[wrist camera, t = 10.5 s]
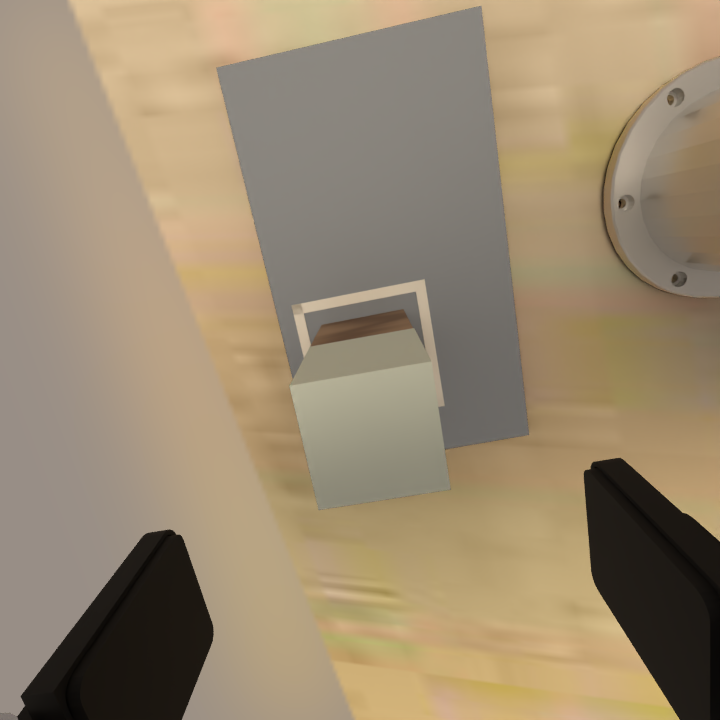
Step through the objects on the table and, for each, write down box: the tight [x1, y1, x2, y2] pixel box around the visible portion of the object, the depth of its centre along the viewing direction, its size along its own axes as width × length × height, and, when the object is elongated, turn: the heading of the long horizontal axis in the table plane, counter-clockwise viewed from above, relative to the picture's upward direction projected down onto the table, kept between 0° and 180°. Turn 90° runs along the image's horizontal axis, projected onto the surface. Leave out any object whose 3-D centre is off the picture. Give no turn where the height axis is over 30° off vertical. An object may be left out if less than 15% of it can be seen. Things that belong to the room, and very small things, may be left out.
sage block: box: [289, 328, 451, 510], centre depth 19 cm, size 5×5×6 cm
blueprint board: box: [217, 6, 529, 449], centre depth 27 cm, size 14×24×1 cm, turn 11°
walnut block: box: [311, 309, 413, 346], centre depth 25 cm, size 5×5×6 cm
